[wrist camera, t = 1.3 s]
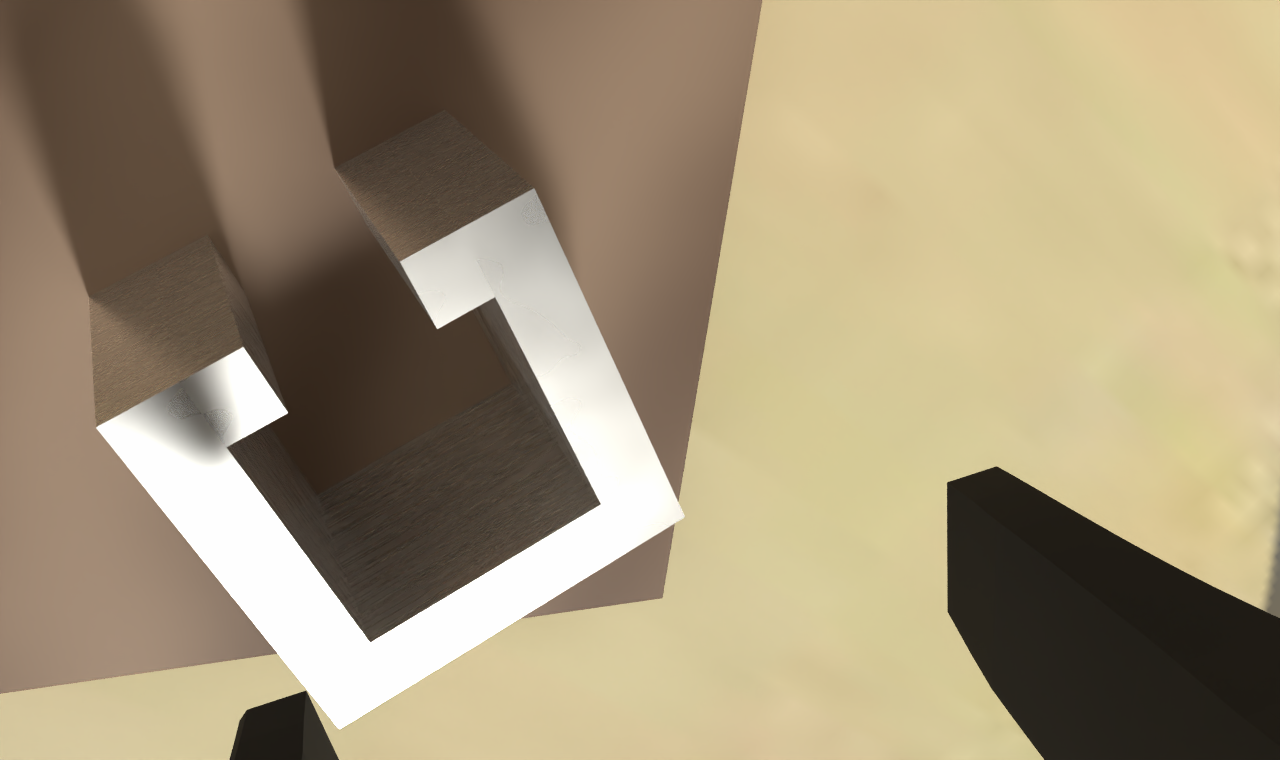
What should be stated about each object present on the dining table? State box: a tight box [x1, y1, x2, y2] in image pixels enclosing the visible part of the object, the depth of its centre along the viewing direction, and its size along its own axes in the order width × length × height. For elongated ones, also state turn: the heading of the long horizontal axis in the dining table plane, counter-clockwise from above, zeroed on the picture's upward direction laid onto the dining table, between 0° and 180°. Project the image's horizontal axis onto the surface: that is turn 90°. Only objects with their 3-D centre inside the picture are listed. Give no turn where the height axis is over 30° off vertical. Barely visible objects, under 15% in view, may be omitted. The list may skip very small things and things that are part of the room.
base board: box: [0, 0, 762, 694], centre depth 17 cm, size 12×21×1 cm, turn 172°
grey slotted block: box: [89, 110, 685, 729], centre depth 17 cm, size 6×6×4 cm
